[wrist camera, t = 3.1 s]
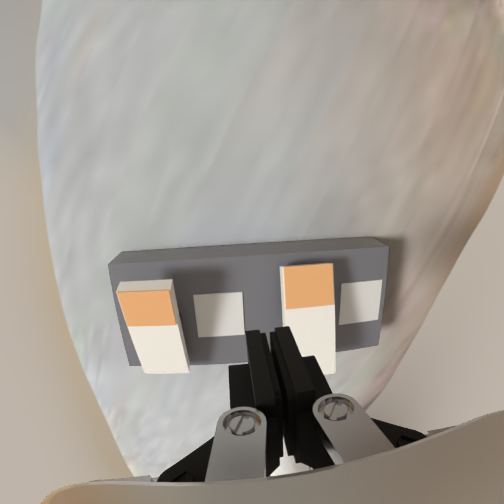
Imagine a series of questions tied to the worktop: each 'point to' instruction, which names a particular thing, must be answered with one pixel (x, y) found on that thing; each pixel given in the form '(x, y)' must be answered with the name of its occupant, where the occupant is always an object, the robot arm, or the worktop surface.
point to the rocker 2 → (310, 310)
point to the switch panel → (256, 291)
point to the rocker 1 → (154, 325)
